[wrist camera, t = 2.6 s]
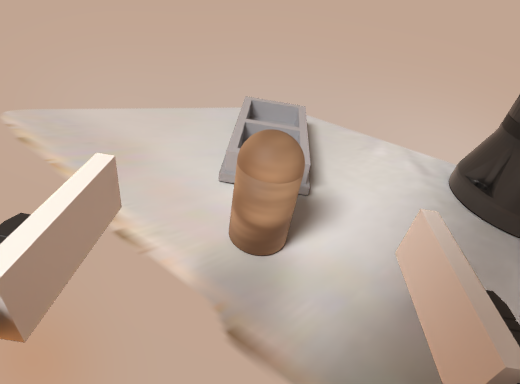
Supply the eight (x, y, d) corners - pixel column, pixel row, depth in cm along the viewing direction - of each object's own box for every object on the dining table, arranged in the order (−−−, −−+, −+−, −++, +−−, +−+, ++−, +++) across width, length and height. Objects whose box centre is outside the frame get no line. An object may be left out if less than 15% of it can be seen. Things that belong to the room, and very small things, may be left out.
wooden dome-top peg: (296, 232, 30) (324, 135, 24) (265, 265, 26) (289, 160, 20) (251, 207, 32) (266, 112, 26) (216, 234, 28) (225, 130, 22)
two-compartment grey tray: (307, 195, 35) (315, 168, 33) (218, 180, 34) (220, 152, 32) (303, 127, 49) (308, 105, 47) (240, 116, 49) (242, 94, 47)
